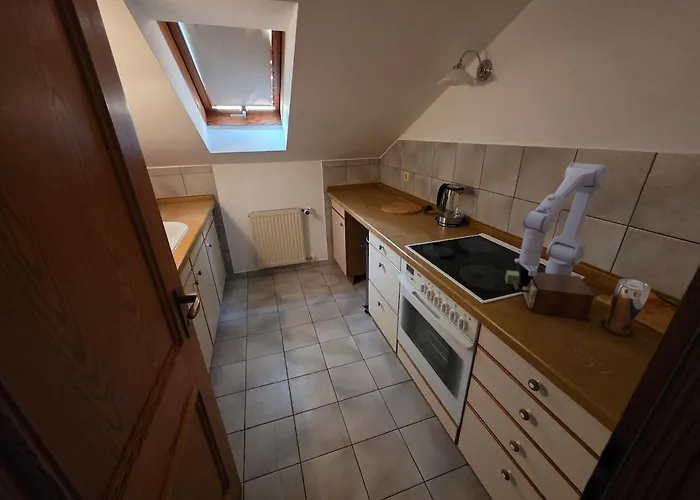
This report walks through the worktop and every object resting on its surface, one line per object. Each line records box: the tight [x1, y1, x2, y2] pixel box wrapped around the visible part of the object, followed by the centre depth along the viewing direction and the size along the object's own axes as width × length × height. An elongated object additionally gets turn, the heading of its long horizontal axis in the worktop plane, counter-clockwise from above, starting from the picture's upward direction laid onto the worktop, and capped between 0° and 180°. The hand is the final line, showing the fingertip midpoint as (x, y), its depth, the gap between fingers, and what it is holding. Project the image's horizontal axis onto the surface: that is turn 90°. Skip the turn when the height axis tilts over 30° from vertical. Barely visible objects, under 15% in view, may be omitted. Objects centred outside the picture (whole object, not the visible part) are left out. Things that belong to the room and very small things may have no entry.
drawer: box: [512, 279, 538, 309], centre depth 99 cm, size 18×11×7 cm, turn 72°
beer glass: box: [603, 278, 652, 336], centre depth 85 cm, size 7×7×15 cm
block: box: [504, 269, 519, 286], centre depth 114 cm, size 4×4×4 cm
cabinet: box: [531, 271, 595, 320], centre depth 98 cm, size 15×13×9 cm
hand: (523, 285), depth 101 cm, fingers closed
